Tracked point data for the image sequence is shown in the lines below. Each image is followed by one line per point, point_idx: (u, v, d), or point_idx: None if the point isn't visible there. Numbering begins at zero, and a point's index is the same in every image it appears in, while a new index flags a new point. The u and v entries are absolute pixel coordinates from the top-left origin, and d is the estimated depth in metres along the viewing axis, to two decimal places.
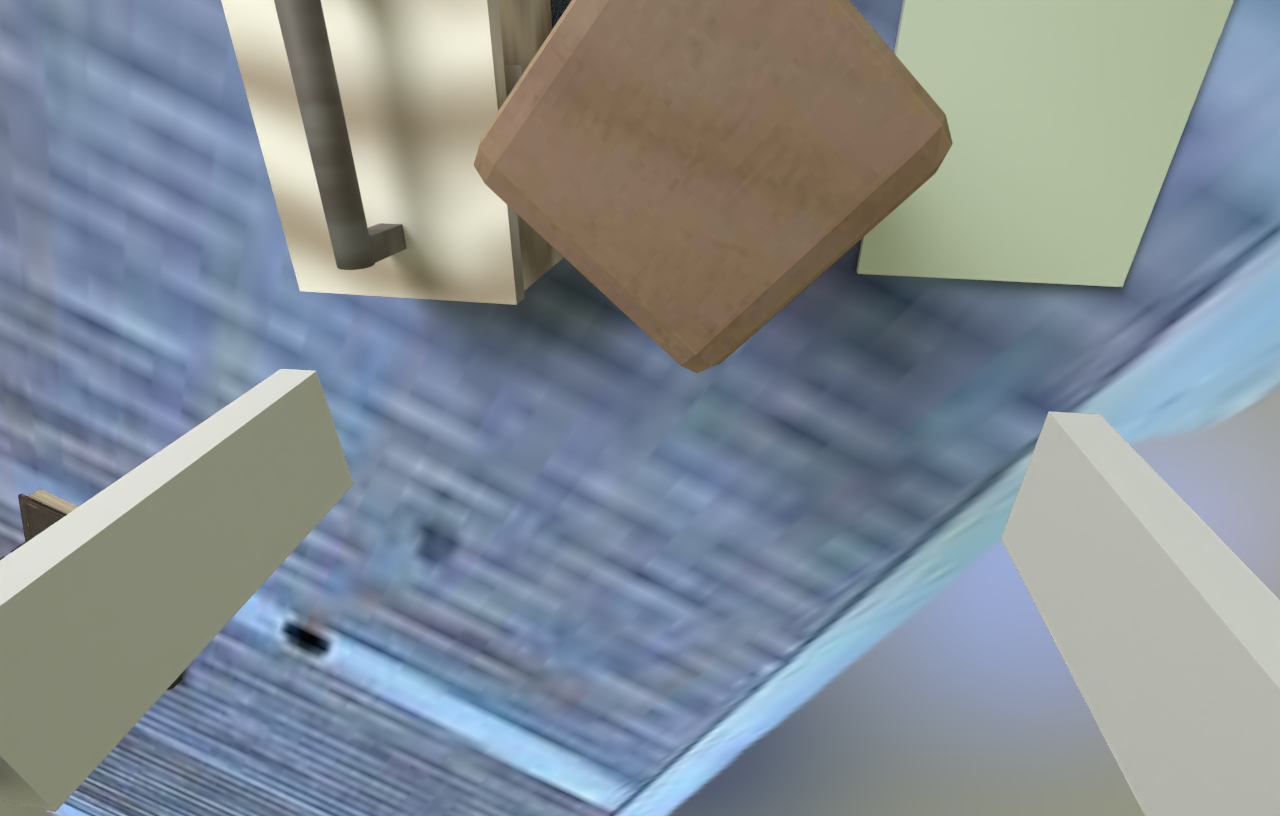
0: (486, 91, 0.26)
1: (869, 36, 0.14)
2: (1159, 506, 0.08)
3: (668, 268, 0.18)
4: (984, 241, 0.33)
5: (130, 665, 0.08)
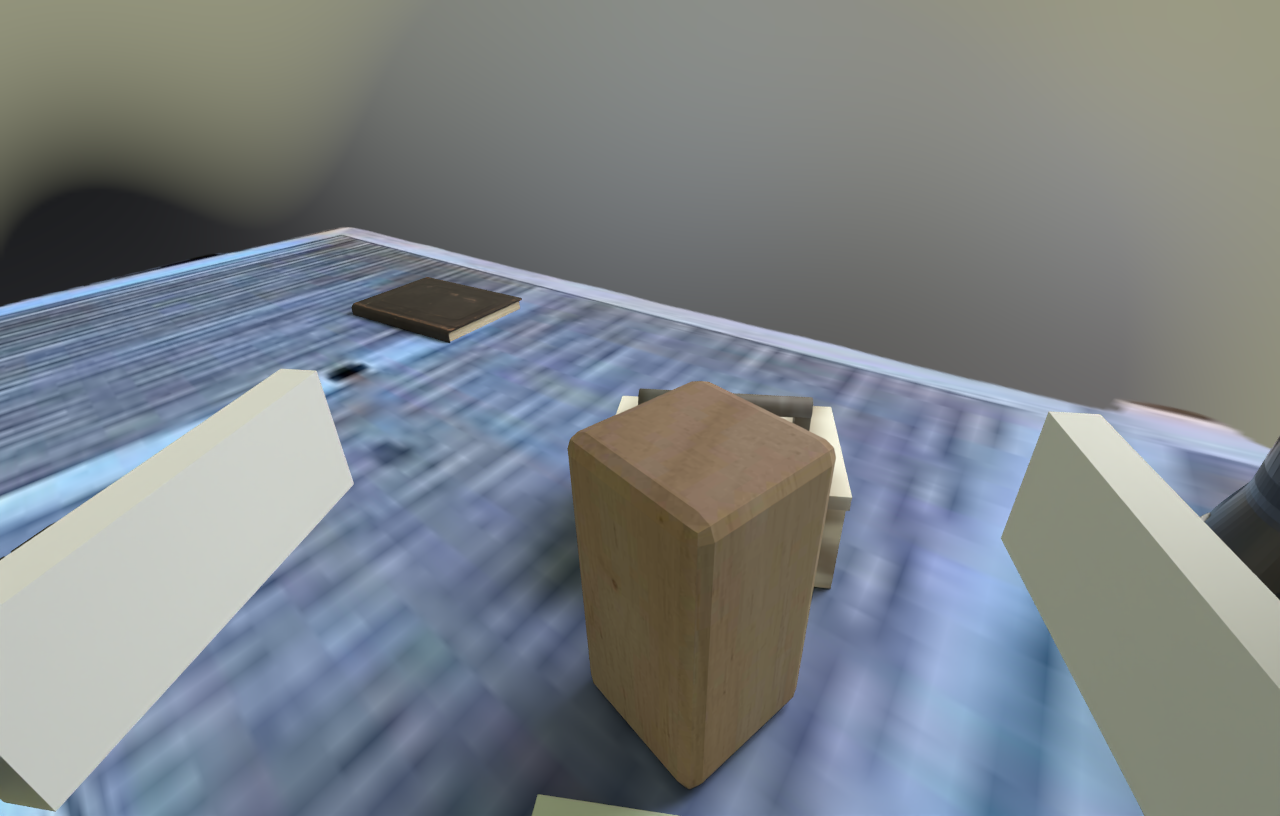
0: None
1: (757, 499, 0.26)
2: (1159, 506, 0.08)
3: (640, 425, 0.30)
4: None
5: (130, 665, 0.08)
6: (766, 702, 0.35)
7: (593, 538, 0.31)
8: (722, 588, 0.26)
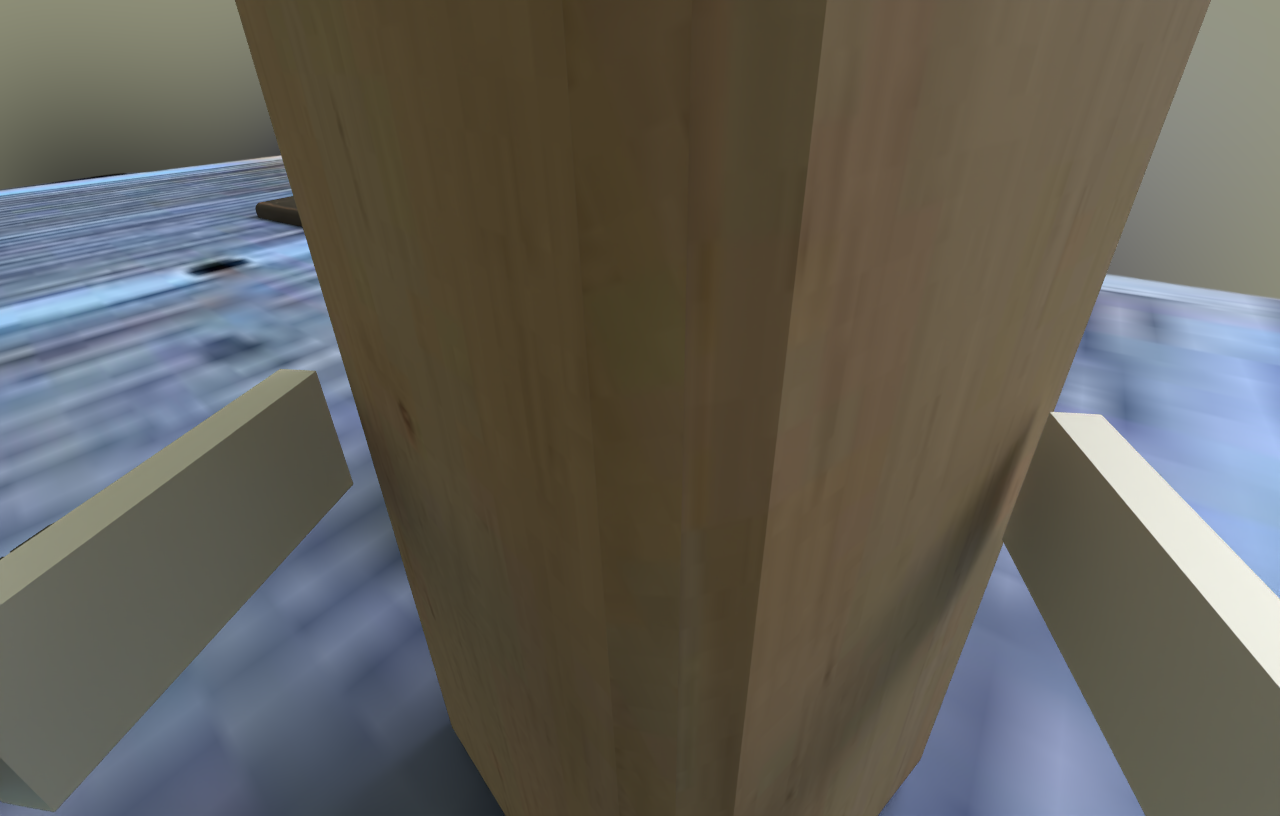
0: None
1: None
2: (1160, 507, 0.08)
3: None
4: None
5: (129, 666, 0.08)
6: (877, 786, 0.13)
7: (335, 262, 0.09)
8: (853, 261, 0.04)
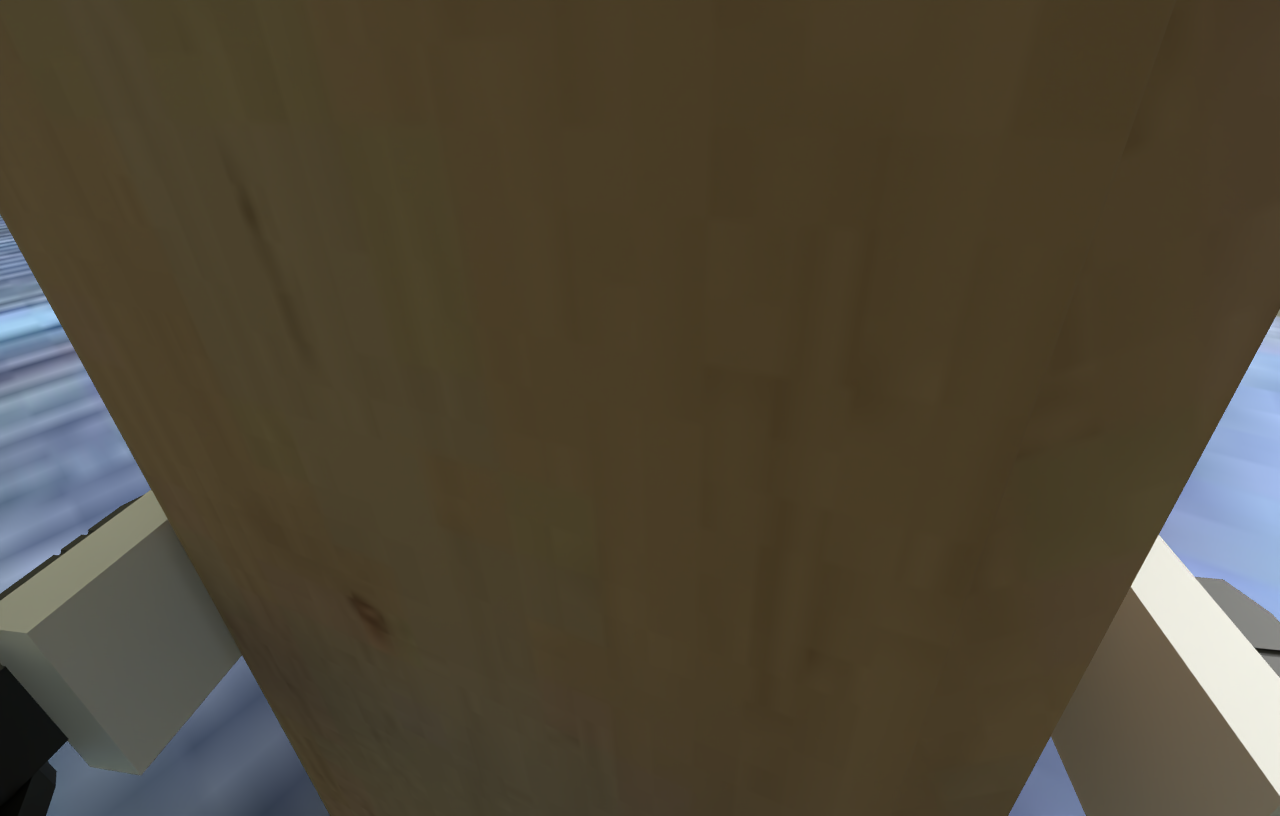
0: None
1: None
2: None
3: None
4: None
5: (204, 638, 0.08)
6: None
7: (184, 413, 0.06)
8: None
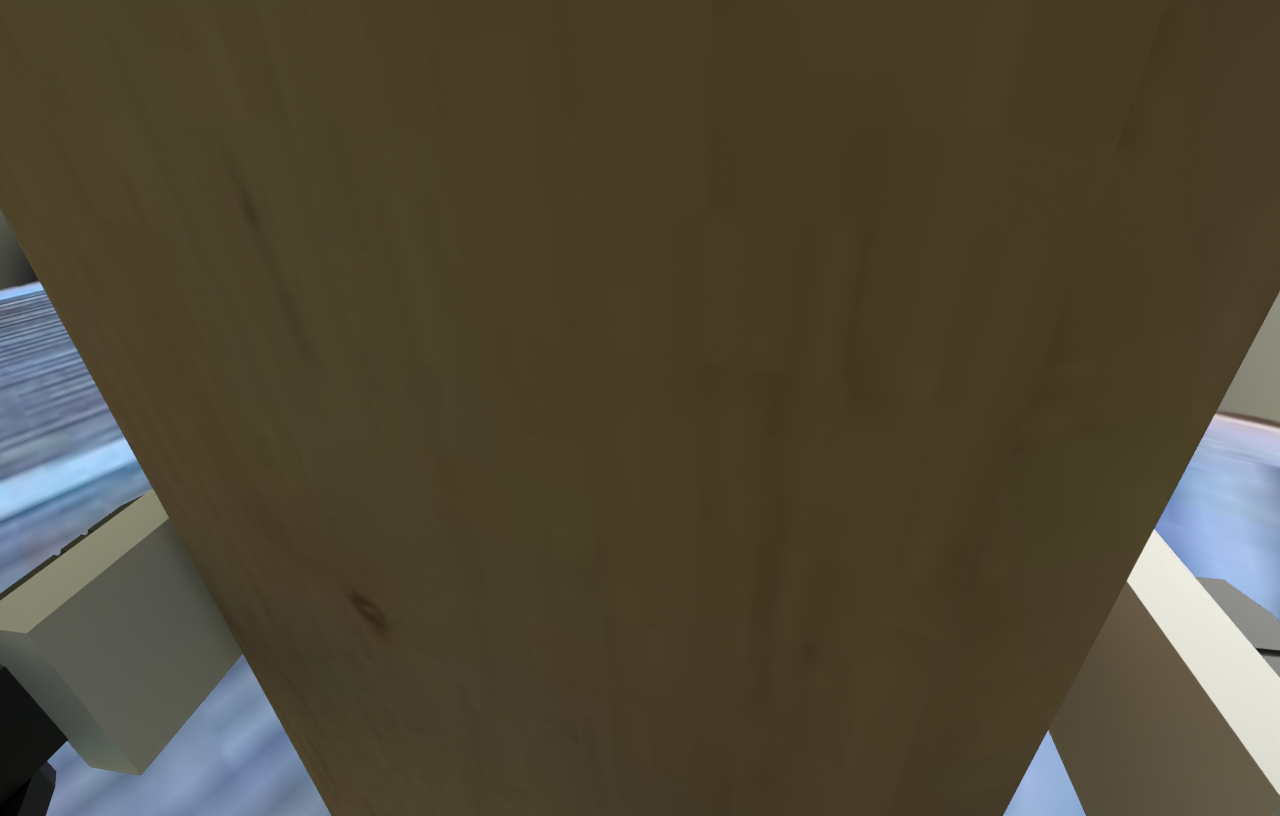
0: None
1: None
2: None
3: None
4: None
5: (204, 639, 0.08)
6: None
7: (186, 411, 0.06)
8: None
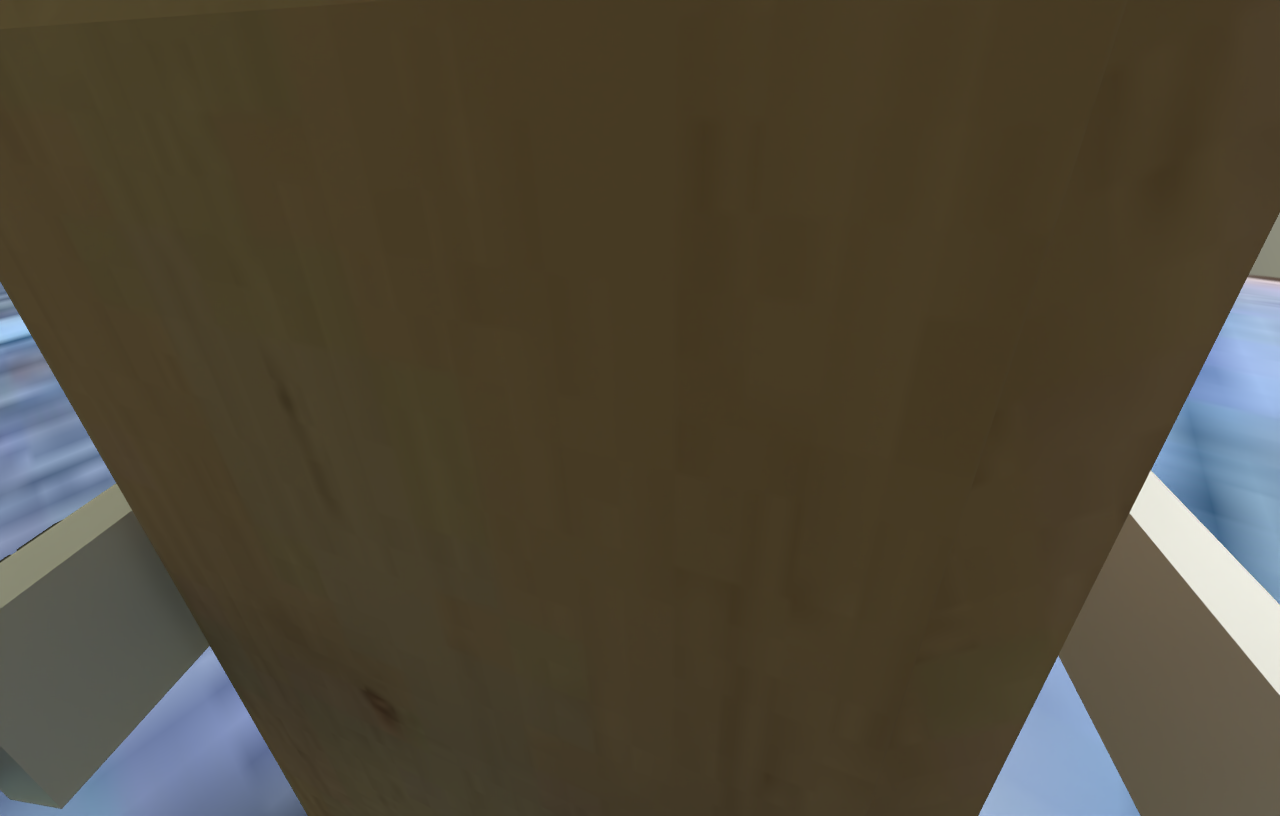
0: None
1: None
2: (1153, 504, 0.08)
3: None
4: None
5: (135, 663, 0.08)
6: None
7: (213, 531, 0.06)
8: None
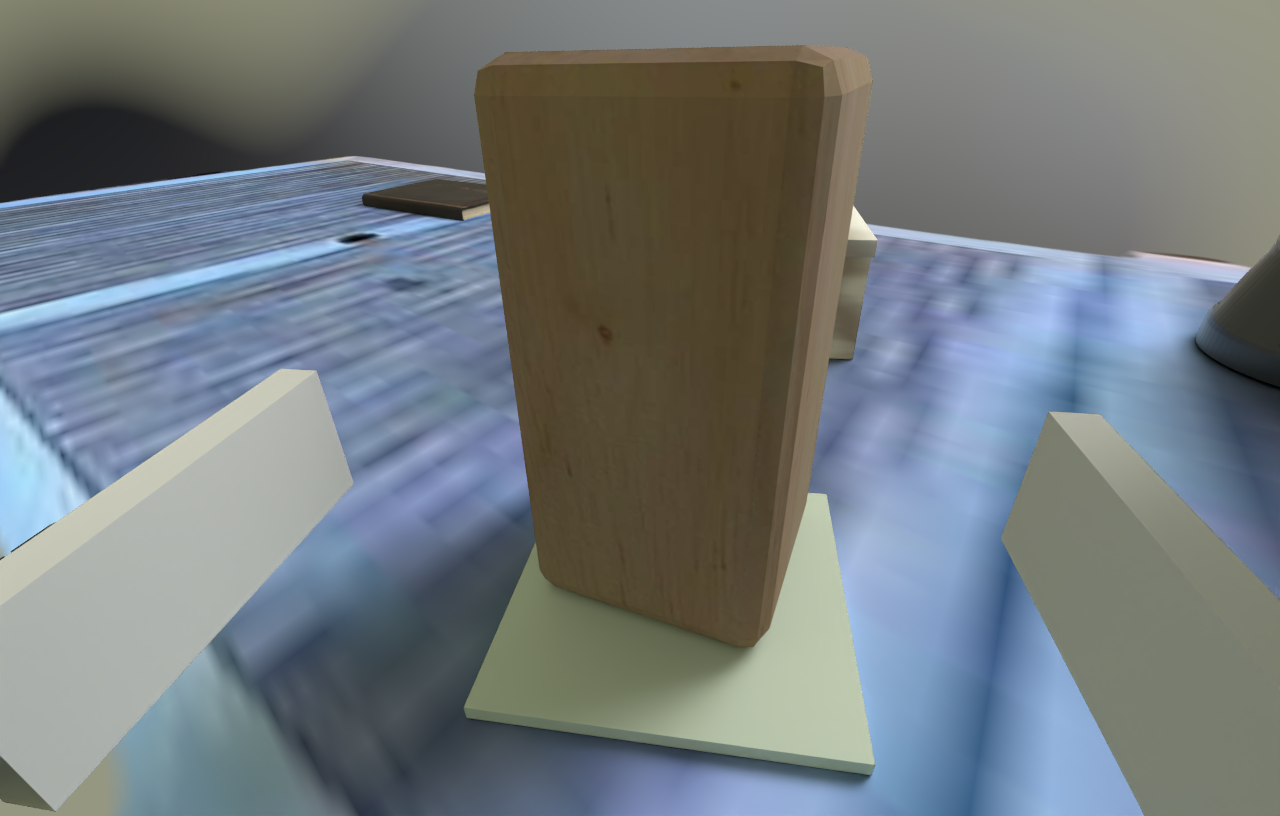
0: None
1: (849, 63, 0.16)
2: (1159, 506, 0.08)
3: None
4: None
5: (130, 665, 0.08)
6: (801, 501, 0.26)
7: (552, 263, 0.18)
8: (827, 226, 0.16)
